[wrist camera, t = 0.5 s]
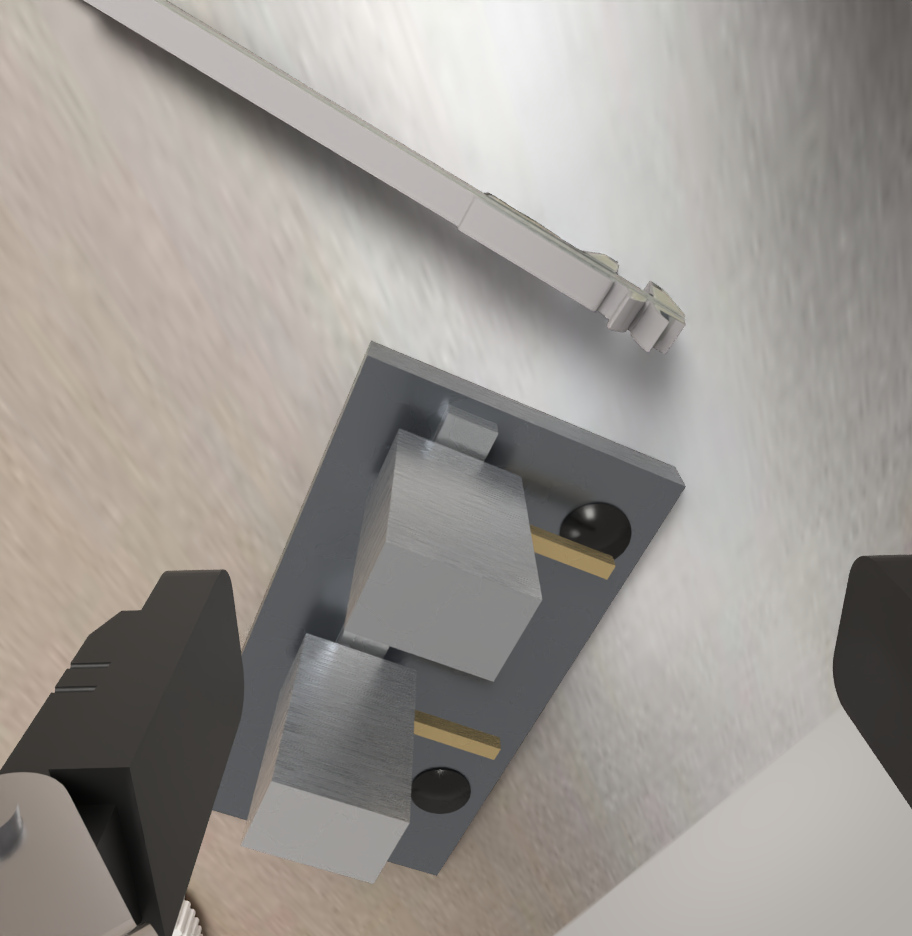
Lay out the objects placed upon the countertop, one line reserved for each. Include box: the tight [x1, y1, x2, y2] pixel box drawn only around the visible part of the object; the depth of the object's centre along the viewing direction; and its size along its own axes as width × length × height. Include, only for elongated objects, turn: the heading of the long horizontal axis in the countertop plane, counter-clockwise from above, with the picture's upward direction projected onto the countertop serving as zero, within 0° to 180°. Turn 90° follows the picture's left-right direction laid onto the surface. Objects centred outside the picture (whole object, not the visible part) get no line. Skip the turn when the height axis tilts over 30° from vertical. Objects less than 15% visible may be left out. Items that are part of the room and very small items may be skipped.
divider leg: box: [241, 633, 501, 884], centre depth 30 cm, size 3×8×7 cm, turn 66°
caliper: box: [84, 0, 685, 354], centre depth 24 cm, size 20×1×6 cm, turn 61°
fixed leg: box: [344, 428, 616, 682], centre depth 26 cm, size 3×8×7 cm, turn 66°
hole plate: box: [212, 341, 686, 876], centre depth 34 cm, size 22×12×2 cm, turn 156°
